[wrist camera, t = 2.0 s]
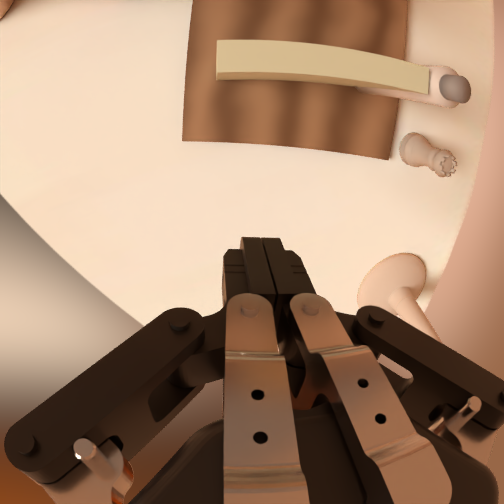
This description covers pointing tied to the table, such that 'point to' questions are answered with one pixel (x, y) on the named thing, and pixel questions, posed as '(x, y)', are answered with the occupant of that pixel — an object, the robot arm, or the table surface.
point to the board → (292, 92)
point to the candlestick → (397, 289)
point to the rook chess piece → (426, 155)
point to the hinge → (340, 70)
